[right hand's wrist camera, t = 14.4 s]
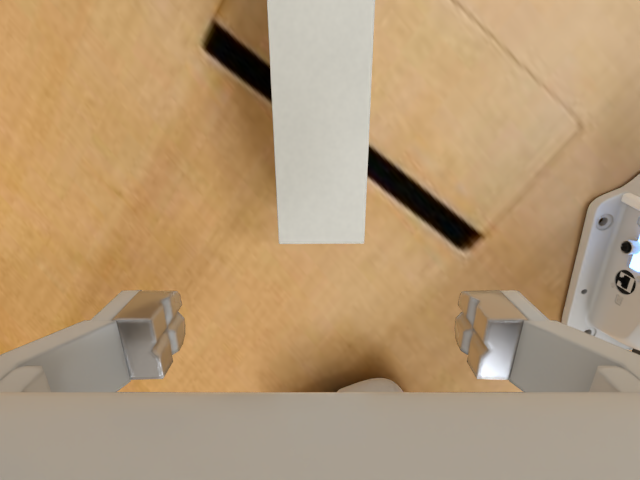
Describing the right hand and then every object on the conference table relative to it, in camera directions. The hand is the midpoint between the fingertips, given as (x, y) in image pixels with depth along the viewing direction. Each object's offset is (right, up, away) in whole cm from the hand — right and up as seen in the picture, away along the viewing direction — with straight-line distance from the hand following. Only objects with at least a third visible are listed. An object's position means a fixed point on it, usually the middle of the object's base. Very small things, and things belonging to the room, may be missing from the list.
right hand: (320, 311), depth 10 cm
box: (0, +17, +20) cm, 27 cm away
